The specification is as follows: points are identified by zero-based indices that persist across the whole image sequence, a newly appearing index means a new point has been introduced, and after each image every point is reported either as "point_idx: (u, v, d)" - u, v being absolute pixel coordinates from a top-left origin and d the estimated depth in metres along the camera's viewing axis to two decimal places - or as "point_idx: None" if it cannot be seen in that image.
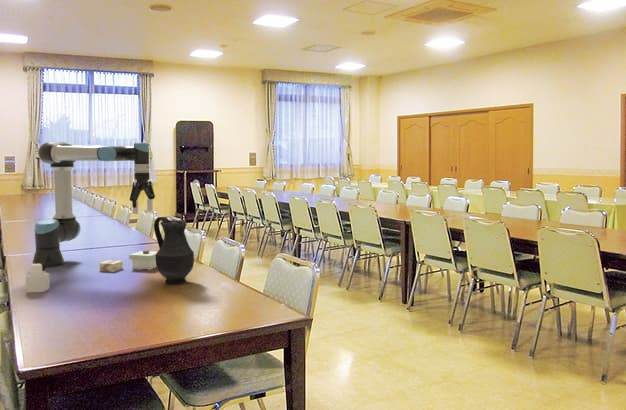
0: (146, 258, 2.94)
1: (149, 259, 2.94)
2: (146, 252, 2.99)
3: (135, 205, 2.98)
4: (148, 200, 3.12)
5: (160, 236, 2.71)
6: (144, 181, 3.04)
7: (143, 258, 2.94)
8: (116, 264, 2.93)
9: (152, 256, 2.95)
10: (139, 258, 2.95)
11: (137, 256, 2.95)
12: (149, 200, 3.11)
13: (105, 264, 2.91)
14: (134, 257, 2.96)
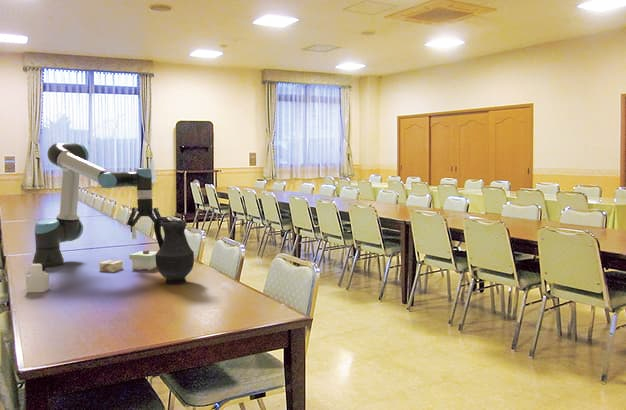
0: (146, 258, 2.94)
1: (149, 259, 2.94)
2: (146, 252, 2.99)
3: (131, 230, 3.01)
4: None
5: (160, 236, 2.71)
6: (144, 207, 2.97)
7: (143, 258, 2.94)
8: (116, 264, 2.93)
9: (152, 256, 2.95)
10: (139, 258, 2.95)
11: (137, 256, 2.95)
12: None
13: (105, 264, 2.91)
14: (134, 257, 2.96)
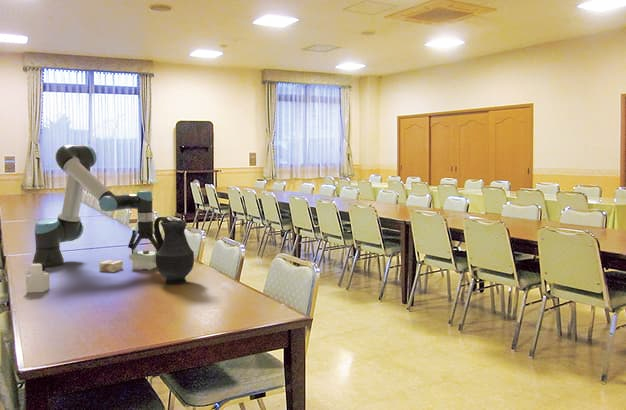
0: (146, 258, 2.94)
1: (149, 259, 2.94)
2: (146, 252, 2.99)
3: (132, 253, 3.02)
4: None
5: (160, 236, 2.71)
6: (145, 230, 2.98)
7: (143, 258, 2.94)
8: (116, 264, 2.93)
9: (152, 256, 2.95)
10: (139, 258, 2.95)
11: (137, 256, 2.95)
12: None
13: (105, 264, 2.91)
14: (134, 257, 2.96)
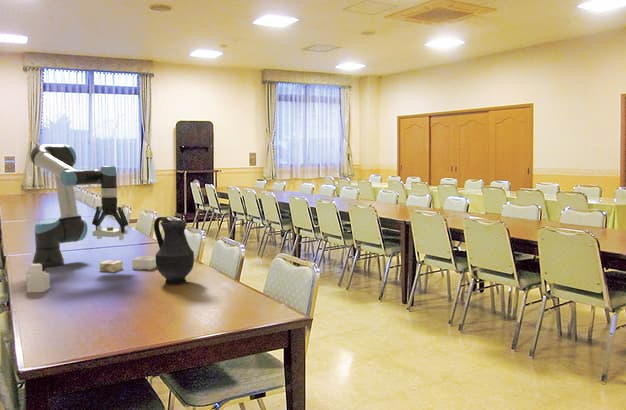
0: (109, 234, 2.87)
1: (112, 235, 2.86)
2: (110, 229, 2.92)
3: None
4: None
5: (160, 236, 2.71)
6: (108, 206, 2.91)
7: (106, 234, 2.87)
8: (116, 264, 2.93)
9: (116, 232, 2.88)
10: (102, 235, 2.88)
11: (100, 232, 2.88)
12: None
13: (105, 264, 2.91)
14: (97, 234, 2.88)
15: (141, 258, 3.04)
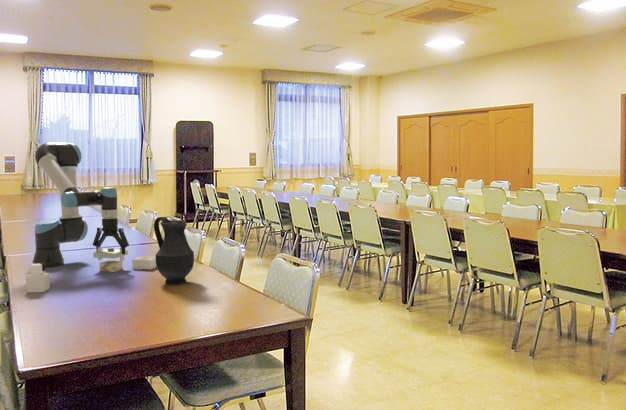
0: (110, 256, 2.88)
1: (113, 257, 2.87)
2: (111, 250, 2.93)
3: None
4: None
5: (160, 236, 2.71)
6: (109, 227, 2.92)
7: (107, 256, 2.88)
8: (116, 264, 2.93)
9: (116, 254, 2.89)
10: (103, 256, 2.89)
11: (101, 254, 2.89)
12: None
13: (105, 264, 2.91)
14: (98, 255, 2.89)
15: (141, 258, 3.04)
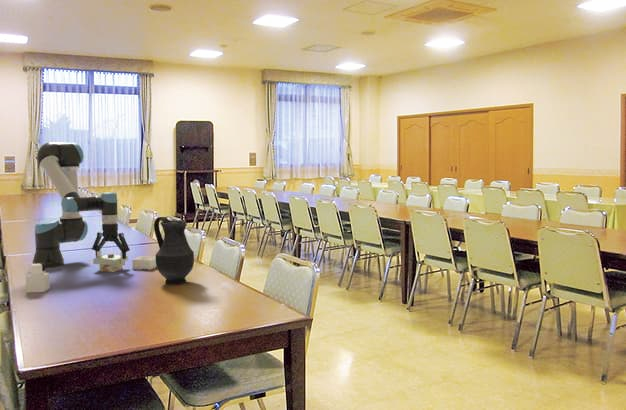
0: (110, 262, 2.88)
1: (113, 263, 2.88)
2: (111, 256, 2.93)
3: (96, 255, 2.96)
4: None
5: (160, 236, 2.71)
6: (109, 232, 2.92)
7: (107, 262, 2.88)
8: (116, 264, 2.93)
9: (116, 260, 2.89)
10: (103, 262, 2.89)
11: (101, 260, 2.89)
12: None
13: (105, 264, 2.91)
14: (98, 261, 2.90)
15: (141, 258, 3.04)
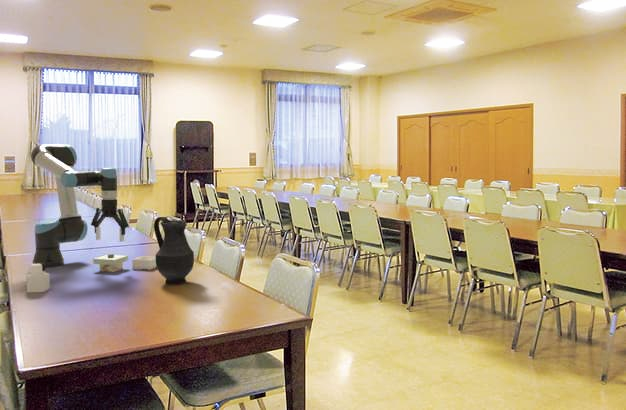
0: (110, 262, 2.88)
1: (113, 263, 2.88)
2: (111, 256, 2.93)
3: (95, 231, 2.95)
4: None
5: (160, 236, 2.71)
6: (108, 208, 2.91)
7: (107, 262, 2.88)
8: (116, 264, 2.93)
9: (116, 260, 2.89)
10: (103, 262, 2.89)
11: (101, 260, 2.89)
12: None
13: (105, 264, 2.91)
14: (98, 261, 2.90)
15: (141, 258, 3.04)
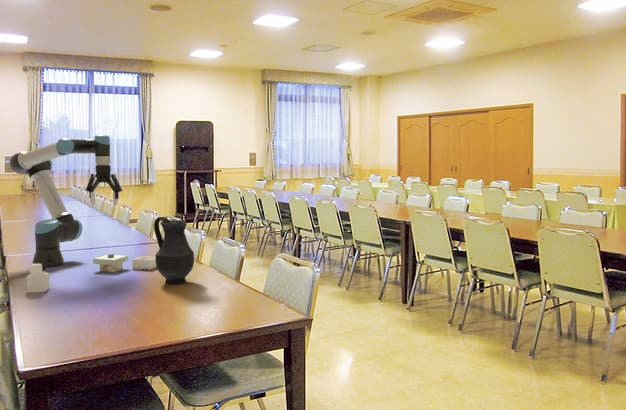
0: (110, 262, 2.88)
1: (113, 263, 2.88)
2: (111, 256, 2.93)
3: (90, 196, 3.09)
4: None
5: (160, 236, 2.71)
6: (102, 174, 3.05)
7: (107, 262, 2.88)
8: (116, 264, 2.93)
9: (116, 260, 2.89)
10: (103, 262, 2.89)
11: (101, 260, 2.89)
12: None
13: (105, 264, 2.91)
14: (98, 261, 2.90)
15: (141, 258, 3.04)
